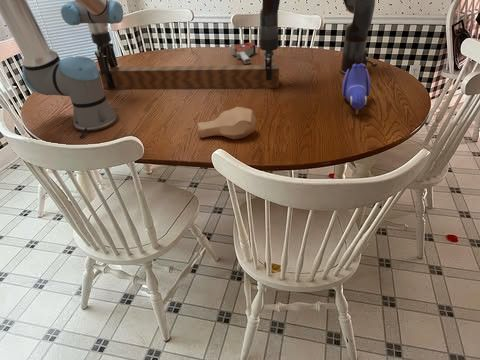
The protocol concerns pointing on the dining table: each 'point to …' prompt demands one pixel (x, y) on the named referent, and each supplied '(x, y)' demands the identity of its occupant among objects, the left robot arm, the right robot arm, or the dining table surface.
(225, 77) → the beam
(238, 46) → the tape dispenser
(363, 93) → the toy
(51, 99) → the dining table surface
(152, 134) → the dining table surface
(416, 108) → the dining table surface
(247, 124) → the squash
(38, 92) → the left robot arm
